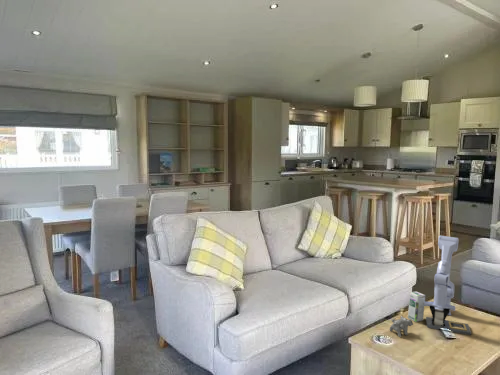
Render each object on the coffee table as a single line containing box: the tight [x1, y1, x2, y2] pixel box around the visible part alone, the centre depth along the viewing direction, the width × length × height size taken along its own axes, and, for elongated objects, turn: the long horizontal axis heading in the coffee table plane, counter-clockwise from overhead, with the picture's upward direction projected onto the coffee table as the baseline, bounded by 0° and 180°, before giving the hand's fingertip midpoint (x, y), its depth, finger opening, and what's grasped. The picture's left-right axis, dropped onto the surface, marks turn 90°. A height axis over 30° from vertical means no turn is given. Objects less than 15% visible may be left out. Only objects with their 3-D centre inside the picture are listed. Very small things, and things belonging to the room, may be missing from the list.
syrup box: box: [407, 291, 426, 323], centre depth 206 cm, size 6×6×14 cm
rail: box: [425, 316, 472, 336], centre depth 198 cm, size 10×20×2 cm, turn 68°
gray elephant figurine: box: [389, 315, 414, 338], centre depth 191 cm, size 9×12×8 cm
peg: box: [432, 309, 444, 326], centre depth 199 cm, size 4×4×8 cm
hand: (438, 321), depth 200 cm, fingers closed on peg, 4 cm apart
